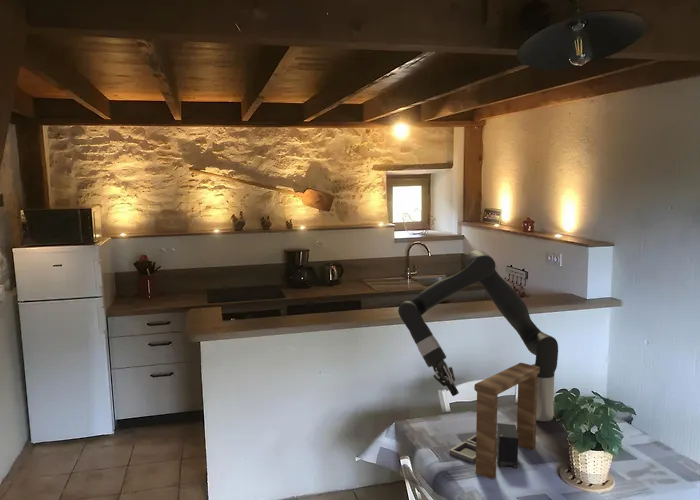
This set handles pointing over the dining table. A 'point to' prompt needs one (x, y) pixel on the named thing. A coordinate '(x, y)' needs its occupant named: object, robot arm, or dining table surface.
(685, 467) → the dining table surface
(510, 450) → the small box
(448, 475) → the dining table surface
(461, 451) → the tray
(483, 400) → the tunnel
